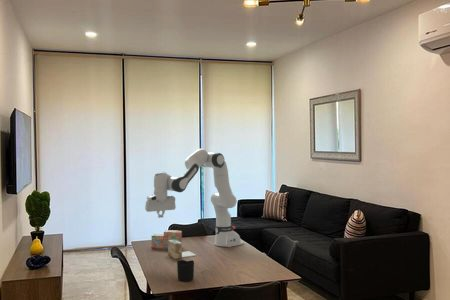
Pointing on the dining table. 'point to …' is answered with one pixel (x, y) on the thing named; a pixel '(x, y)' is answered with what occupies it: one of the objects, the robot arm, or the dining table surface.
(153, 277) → the dining table surface
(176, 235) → the stack of blocks
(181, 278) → the pen holder
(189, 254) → the felt mat
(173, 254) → the oak block
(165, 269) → the dining table surface
